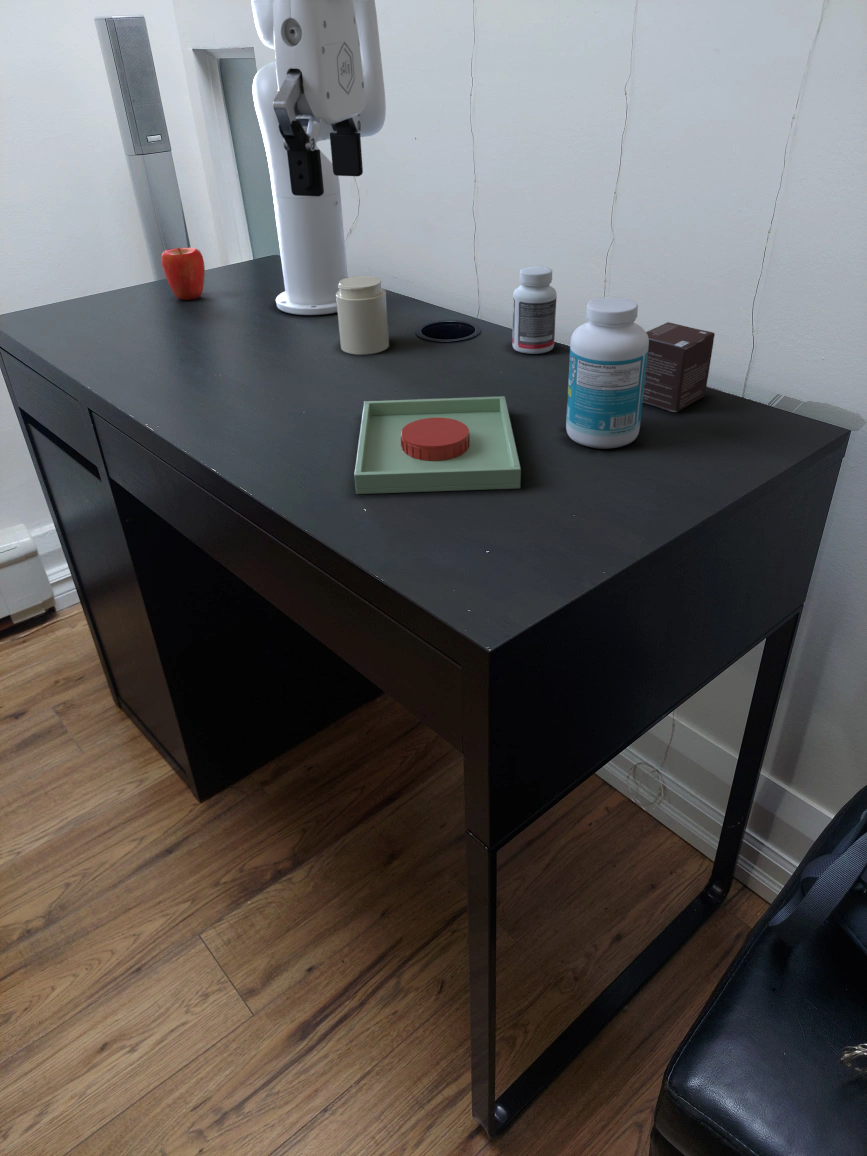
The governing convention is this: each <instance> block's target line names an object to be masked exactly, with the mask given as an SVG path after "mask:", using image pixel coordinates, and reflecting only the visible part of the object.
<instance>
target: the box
mask: <svg viewBox="0 0 867 1156" xmlns="http://www.w3.org/2000/svg"><path fill="white" fill-rule="evenodd" d="M646 333H647V335H648V338H649V347H648V357H647V365H646V375H645V383H644V393H643V402H642V404H645V405H646V404H647V405H650V406H654V407H657V408H659V409H662V410H666V411H669V412H672V413H678V412H680V411H682V410H683V409H685V408H687V407H689V406H690V405H692V404H694V403H695V402H697V401H699V400H700V399H702V398H704V397H705V396H706V392H707V386H708V378H709V375H710V374H709V373H710V366H711V361H712V355H713V354H712V353H713V349H714V341H715V335H716V333H715V332H713V331H708V330H705V329H699V328H696V327H695V328H694V327H691V326H686V325H682V324H677V323H673V322H669V321H667V322H665V323H663V324H661V325H658V326H656V327H653V328H651V329H649V330H648V331H646Z"/></svg>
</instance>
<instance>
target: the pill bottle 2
mask: <svg viewBox="0 0 867 1156" xmlns="http://www.w3.org/2000/svg"><path fill="white" fill-rule="evenodd" d="M638 309H639V304H638V302H637V301H636V300H634V299H631V298H627V297H622V296H604V297H603V296H602V297H597V298H593V299H591V300H589V301H588V302H587V305H586V320H587V321H586V322H585V323H582V324H581V325H579V326H578V327H577V328H576V329H575V330H574V331H573V333H572V334H571V337H570V344H569V361H568V363H569V364H568V365H569V366H568V382H567V383H568V384H567V385H568V386H567V402H566V416H565V417H566V418H565V421H566V422H565V429H566V434H567V435H568V437H569V438H570V439H571V440H572V441H574V442H575V443H576V444H579V445H581V446H584V447H587V448H593V449H601V450H602V449H604V450H605V449H608V450H609V449H617V448H621V447H625V446H627V445H630V444H631V443H633V442H634V441H635V440H636V439H637V438H638V435H639V434H640V433H639V432H640V429H641V420H642V412H643V403H642V402H643V393H644V383H645V375H646V365H647V357H648V347H649V338H648V335H647V333H646V332H647V331H646V330H645V329H644V328H643V327H642V326H640V325H639V324H638V323H636V322H635V321H636V319H637V318H638V311H639V310H638Z"/></svg>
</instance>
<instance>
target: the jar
mask: <svg viewBox="0 0 867 1156" xmlns="http://www.w3.org/2000/svg"><path fill="white" fill-rule="evenodd" d="M338 287H339V291H338V292H337V293H336V302H337V312H336V313H337V322H338V323H337V324H338V332H339V343H340V344H339V345H340V349H341V351H343V352H344V353H347V354H350V355H358V356H360V355H361V356H362V355H364V356H365V355H373V354H378V353H381V352H383V351H386V350H387V349H388V348H389V347H390V337H389V336H390V335H389V318H388V306H387V305H388V303H387V290H386V289H385V288H382V279H381V278H379V277H377V276H374V275H373V276H372V275H355V276H354V275H353V276H348V278H344V279H342V280H340V281H339V284H338Z"/></svg>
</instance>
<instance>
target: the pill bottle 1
mask: <svg viewBox="0 0 867 1156" xmlns="http://www.w3.org/2000/svg"><path fill="white" fill-rule="evenodd" d="M518 277H519V280H518V282H519V284H520V285H519V286H517V287H516V288H515V289H514V291H513V295H512V339H511V340H512V348H513V350H514V351H516V352H518V353H522V354H528V355H541V354H545V353H548V352H550V351H552V350H553V349H554V347H555V337H556V336H555V334H556V315H557V299H558V297H557V296H558V295H557V290H556V288H554V287H553V286H551V284H552V281H553V269H552V268H550V267H547V266H541V265H538V266H537V265H536V266H526V267H523V268H521V269H520V270H519V276H518Z"/></svg>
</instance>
